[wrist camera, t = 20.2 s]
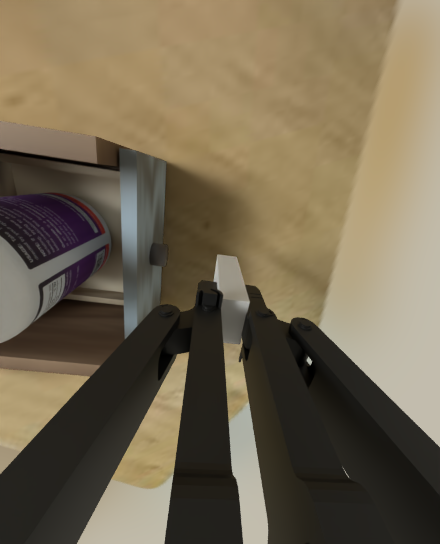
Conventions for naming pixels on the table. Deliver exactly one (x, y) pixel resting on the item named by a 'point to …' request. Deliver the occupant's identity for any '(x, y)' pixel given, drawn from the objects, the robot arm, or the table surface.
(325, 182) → the table surface
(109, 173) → the grey drawer
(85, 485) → the robot arm
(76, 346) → the wooden drawer box
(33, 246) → the pill bottle
